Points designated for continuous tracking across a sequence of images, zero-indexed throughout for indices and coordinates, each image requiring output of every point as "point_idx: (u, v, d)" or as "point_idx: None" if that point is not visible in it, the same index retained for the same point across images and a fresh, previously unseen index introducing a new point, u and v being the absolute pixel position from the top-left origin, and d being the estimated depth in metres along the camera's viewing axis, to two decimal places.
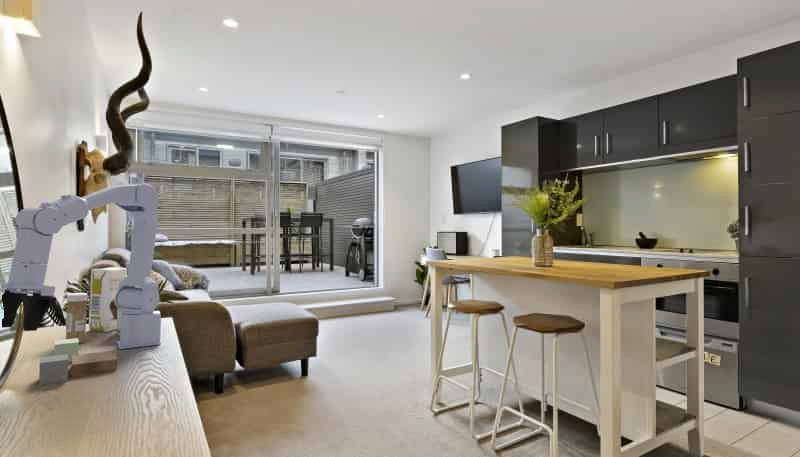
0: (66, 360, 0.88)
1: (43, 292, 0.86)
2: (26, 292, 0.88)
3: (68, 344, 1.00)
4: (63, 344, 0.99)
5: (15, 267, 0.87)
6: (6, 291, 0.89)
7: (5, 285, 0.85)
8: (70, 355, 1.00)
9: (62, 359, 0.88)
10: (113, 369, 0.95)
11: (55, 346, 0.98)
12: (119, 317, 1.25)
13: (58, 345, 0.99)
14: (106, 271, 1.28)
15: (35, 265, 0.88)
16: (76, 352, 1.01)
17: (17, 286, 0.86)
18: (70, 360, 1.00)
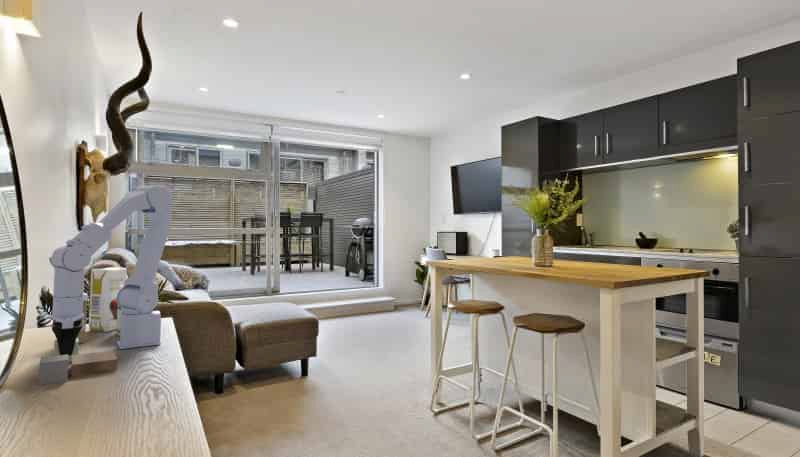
0: (66, 360, 0.88)
1: (62, 325, 0.95)
2: None
3: None
4: None
5: (53, 301, 0.99)
6: None
7: (46, 317, 0.98)
8: (70, 355, 1.00)
9: (62, 359, 0.88)
10: (113, 369, 0.95)
11: (55, 346, 0.98)
12: (119, 317, 1.25)
13: None
14: (106, 271, 1.28)
15: (65, 299, 0.99)
16: (76, 352, 1.01)
17: (53, 318, 0.98)
18: (70, 360, 1.00)
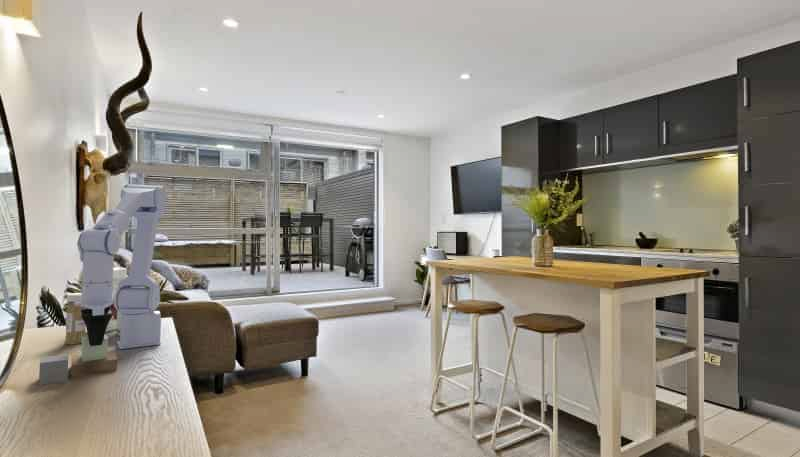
0: (66, 360, 0.88)
1: (92, 312, 0.90)
2: None
3: None
4: None
5: (82, 287, 0.94)
6: None
7: (74, 304, 0.93)
8: (99, 352, 0.95)
9: (62, 359, 0.88)
10: (113, 369, 0.95)
11: (84, 342, 0.93)
12: (119, 317, 1.25)
13: (87, 341, 0.93)
14: None
15: (94, 285, 0.93)
16: (105, 349, 0.95)
17: (82, 305, 0.93)
18: (99, 357, 0.95)
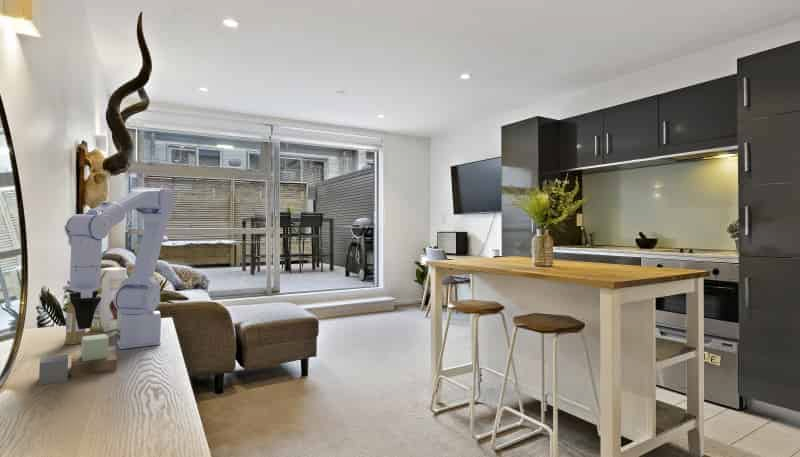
0: (66, 360, 0.88)
1: (81, 295, 0.91)
2: None
3: (98, 340, 0.95)
4: (93, 340, 0.94)
5: (70, 271, 0.95)
6: None
7: (63, 288, 0.94)
8: (100, 351, 0.95)
9: (62, 359, 0.88)
10: (113, 369, 0.95)
11: (85, 342, 0.93)
12: (119, 317, 1.25)
13: (88, 341, 0.93)
14: (106, 271, 1.28)
15: (82, 268, 0.95)
16: (106, 348, 0.96)
17: (71, 288, 0.94)
18: (100, 357, 0.95)
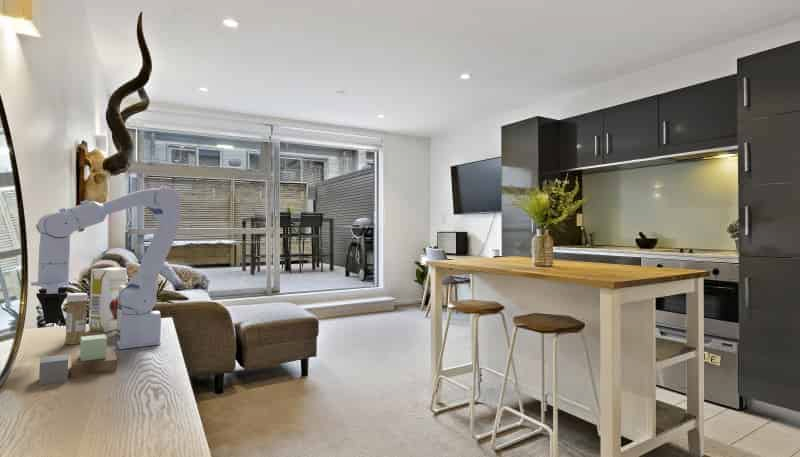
0: (66, 360, 0.88)
1: (46, 290, 0.95)
2: None
3: (96, 340, 0.94)
4: (91, 340, 0.94)
5: (38, 267, 0.99)
6: None
7: (31, 284, 0.98)
8: (98, 352, 0.94)
9: (62, 359, 0.88)
10: (113, 369, 0.95)
11: (83, 342, 0.93)
12: (119, 317, 1.25)
13: (86, 341, 0.93)
14: (106, 271, 1.28)
15: (50, 265, 0.99)
16: (104, 348, 0.95)
17: (38, 284, 0.98)
18: (98, 357, 0.94)
